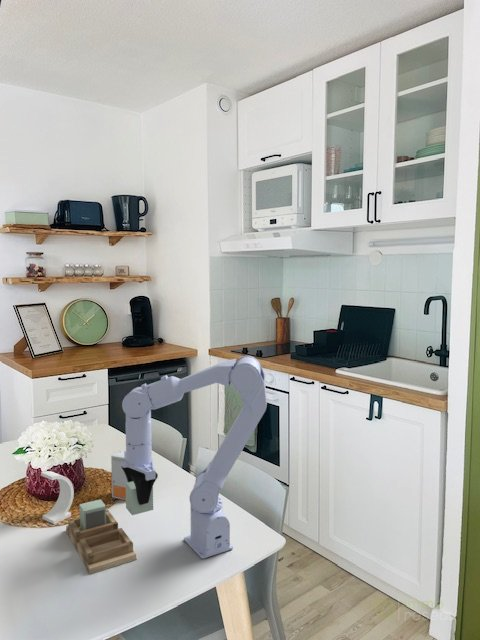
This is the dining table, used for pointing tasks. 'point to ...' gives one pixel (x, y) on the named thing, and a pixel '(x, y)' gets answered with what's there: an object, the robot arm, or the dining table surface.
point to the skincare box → (118, 476)
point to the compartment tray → (101, 544)
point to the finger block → (136, 500)
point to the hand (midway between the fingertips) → (139, 499)
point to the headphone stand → (60, 498)
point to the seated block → (92, 514)
